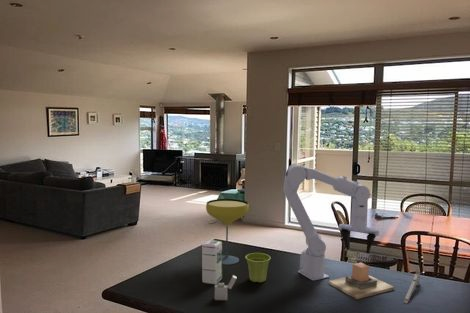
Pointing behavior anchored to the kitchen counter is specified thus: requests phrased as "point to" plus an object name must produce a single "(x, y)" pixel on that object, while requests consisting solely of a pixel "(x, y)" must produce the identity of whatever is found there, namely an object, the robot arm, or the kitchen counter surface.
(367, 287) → the dock
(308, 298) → the kitchen counter surface
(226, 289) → the lighter
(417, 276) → the caliper
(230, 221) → the cocktail glass
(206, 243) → the syrup box
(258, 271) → the plant pot
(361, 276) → the orange wooden block
